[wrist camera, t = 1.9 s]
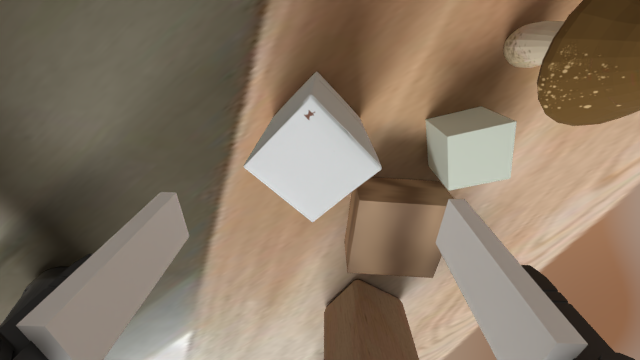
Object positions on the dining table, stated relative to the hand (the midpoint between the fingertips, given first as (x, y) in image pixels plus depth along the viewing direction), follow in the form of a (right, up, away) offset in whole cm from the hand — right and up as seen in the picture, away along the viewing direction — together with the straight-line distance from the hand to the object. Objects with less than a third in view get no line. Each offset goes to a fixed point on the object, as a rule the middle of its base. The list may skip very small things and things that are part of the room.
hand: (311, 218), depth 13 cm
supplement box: (0, +9, +17) cm, 19 cm away
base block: (+10, -3, +23) cm, 25 cm away
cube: (+16, +7, +17) cm, 25 cm away
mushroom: (+20, +16, +13) cm, 28 cm away
